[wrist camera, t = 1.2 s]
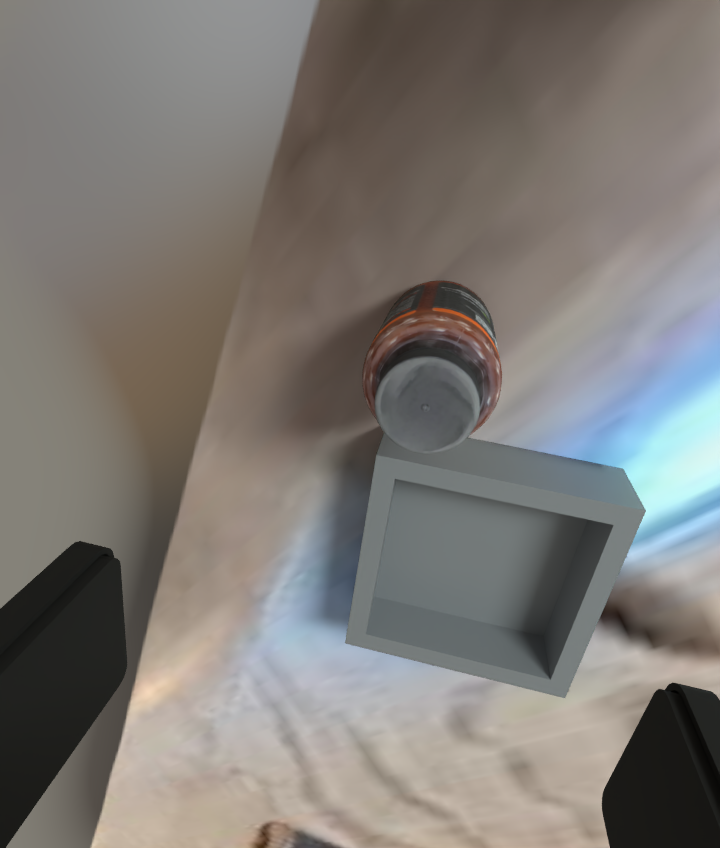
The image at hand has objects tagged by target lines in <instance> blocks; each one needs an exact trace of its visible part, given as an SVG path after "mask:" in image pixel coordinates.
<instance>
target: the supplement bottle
mask: <svg viewBox="0 0 720 848" xmlns="http://www.w3.org/2000/svg"><path fill="white" fill-rule="evenodd" d="M362 375H363V390H364V395H365V399H366V402H367V404H368V406H369V408H370V410H371V412H372V414H373V415H374V417H375V418H376V419H377V421H378V423H379V425H380V427H381V429H382V430H383V432H384V433H385V434H386V436H387V437H388V438H390V440H391V441H393V442H394V443H395V444H397V445H398V446H400V447H401V448H404V449H406V450H408V451H411V452H415V453H420V454H435V453H441V452H445V451H448V450H450V449H453V448H455V447H456V446H458V445H460V444H461V443H462V442H463V441H465V439H466V438H468V436H469V435H471V434H472V433H474V432H475V431H476V430H477V429H478V428H479V427H481V426H482V425H483V424H484V423H485V422H486V420H487V419H488V418H489V417H490V415H491V414H492V412H493V410H494V408H495V406H496V404H497V401H498V399H499V396H500V391H501V382H502V371H501V364H500V357H499V352H498V348H497V342H496V338H495V332H494V327H493V323H492V319H491V316H490V314H489V312H488V310H487V308H486V306H485V304H484V303H483V301H482V300H481V299H480V298H479V297H478V296H477V295H476V294H475V293H474V292H472V291H471V290H469V289H468V288H467V287H464V286H462V285H460V284H458V283H454V282H449V281H431V282H426V283H422V284H420V285H417V286H415V287H414V288H412V289H410V290H409V291H407V292H406V293H405V294H404V295H402V296H401V297H400V298H399V300H398V301H397V302H396V303H395V304H394V306H393V307H392V308H391V310H390V312H389V314H388V316H387V317H386V319H385V321H384V323H383V325H382V326H381V328H380V330H379V332H378V334H377V335H376V337H375V339H374V341H373V343H372V344H371V346H370V348H369V350H368V353H367V355H366V358H365V362H364V367H363V374H362Z"/></svg>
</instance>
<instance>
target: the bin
mask: <svg viewBox="0 0 720 848" xmlns="http://www.w3.org/2000/svg"><path fill="white" fill-rule="evenodd" d="M645 512H646V510H645V508H644V507H643V505H642V503H641V501H640V499H639V497H638V495H637V494H636V492H635V490H634V488H633V486H632V484H631V482H630V481H629V479H628V477H627V475H626V473H625V471H624V470H623V469H621V468H616V467H611V466H606V465H601V464H596V463H591V462H586V461H581V460H576V459H571V458H566V457H561V456H556V455H551V454H546V453H541V452H536V451H531V450H526V449H521V448H516V447H511V446H506V445H501V444H496V443H491V442H486V441H481V440H476V439H471V438H466V439H465V441H463V442H462V443H461V444H460V445H458V446H456V447H455V448H453V449H450V450H448V451H445V452H441V453H435V454H420V453H415V452H411V451H408V450H406V449H404V448H401V447H400V446H398V445H397V444H395V443H394V442H393V441H391V440H390V438H388V437H387V436H386V434H385V433H384V434H383V437H382V440H381V443H380V446H379V449H378V452H377V455H376V460H375V466H374V472H373V478H372V484H371V490H370V496H369V502H368V508H367V514H366V520H365V526H364V532H363V538H362V544H361V550H360V557H359V563H358V569H357V575H356V581H355V587H354V593H353V599H352V605H351V611H350V617H349V623H348V629H347V635H346V641H345V643H346V644H350V645H354V646H358V647H362V648H366V649H370V650H374V651H378V652H382V653H386V654H390V655H394V656H398V657H402V658H406V659H410V660H414V661H418V662H422V663H426V664H430V665H434V666H438V667H442V668H446V669H450V670H454V671H458V672H462V673H466V674H470V675H474V676H478V677H482V678H486V679H490V680H494V681H498V682H502V683H506V684H510V685H514V686H518V687H522V688H526V689H530V690H534V691H538V692H542V693H546V694H550V695H554V696H558V697H562V698H565V697H566V694H567V692H568V690H569V687H570V685H571V683H572V681H573V678H574V676H575V674H576V671H577V669H578V667H579V664H580V662H581V660H582V657H583V655H584V653H585V650H586V648H587V646H588V643H589V641H590V639H591V637H592V634H593V632H594V630H595V627H596V625H597V623H598V620H599V618H600V616H601V613H602V611H603V609H604V606H605V604H606V602H607V600H608V597H609V595H610V593H611V590H612V588H613V586H614V583H615V581H616V579H617V576H618V574H619V572H620V569H621V567H622V565H623V562H624V560H625V558H626V556H627V553H628V551H629V549H630V546H631V544H632V542H633V539H634V537H635V535H636V532H637V530H638V528H639V525H640V523H641V521H642V518H643V516H644V514H645Z"/></svg>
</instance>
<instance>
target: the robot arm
mask: <svg viewBox="0 0 720 848" xmlns="http://www.w3.org/2000/svg"><path fill="white" fill-rule="evenodd" d="M126 667H127V655H126V640H125V625H124V612H123V595H122V580H121V566H120V561H119V560H118V559H116V558H114V555H113V551H112V550H111V549H109V548H106V547H102V546H98V545H93V544H89V543H85V542H81V541H79V542H75V543H74V544H72V545H71V546H70V547H69V548H68V549H66V550H65V551H64V552H63V553H62V554H61V555H60V556H59V557H57V558H56V559H55V560H54V561H53V562H52V563H51V564H50V565H49V566H47V567H46V568H45V569H44V570H43V571H42V572H41V573H40V574H39V575H37V576H36V577H35V578H34V579H33V580H32V581H31V582H30V583H28V584H27V585H26V586H25V587H24V588H23V589H22V590H21V591H20V592H19V593H17V594H16V595H15V596H14V597H13V598H12V599H11V600H10V601H8V602H7V603H6V604H5V605H4V606H3V607H2V608H1V609H0V848H6V846H7V845H8V843H9V842H10V841H11V839H12V838H13V836H14V835H15V833H16V832H17V831H18V829H19V827H20V826H21V825H22V823H23V822H24V821H25V819H26V818H27V816H28V815H29V814H30V812H31V811H32V809H33V808H34V806H35V805H36V803H37V802H38V801H39V799H40V798H41V796H42V795H43V793H44V792H45V791H46V789H47V788H48V786H49V785H50V784H51V782H52V781H53V779H54V778H55V776H56V775H57V774H58V772H59V771H60V769H61V768H62V766H63V765H64V764H65V762H66V761H67V759H68V758H69V757H70V755H71V754H72V752H73V751H74V749H75V748H76V747H77V745H78V743H79V742H80V741H81V739H82V738H83V736H84V735H85V734H86V732H87V731H88V729H89V728H90V727H91V725H92V724H93V722H94V721H95V719H96V718H97V717H98V715H99V714H100V712H101V711H102V710H103V708H104V707H105V705H106V704H107V702H108V701H109V700H110V698H111V697H112V695H113V694H114V692H115V691H116V690H117V688H118V687H119V685H120V683H121V682H122V680H123V678H124V675H125V672H126ZM602 811H603V817H604V822H605V827H606V831H607V836H608V840H609V845H610V848H720V700H719V699H718V697H717V696H716V695H715V694H714V693H713V692H711V691H707V690H702V689H698V688H694V687H690V686H686V685H681V684H677V683H671V684H669V685H668V686H667V688H666V689H665V690H662V689H658V690H657V691H656V692H655V693H654V695H653V697H652V699H651V701H650V703H649V704H648V706H647V708H646V710H645V712H644V714H643V716H642V718H641V720H640V722H639V724H638V725H637V727H636V729H635V731H634V733H633V735H632V737H631V739H630V741H629V743H628V745H627V746H626V748H625V750H624V752H623V754H622V756H621V758H620V760H619V762H618V764H617V766H616V767H615V769H614V771H613V773H612V775H611V777H610V779H609V781H608V783H607V785H606V787H605V789H604V792H603V797H602Z"/></svg>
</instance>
